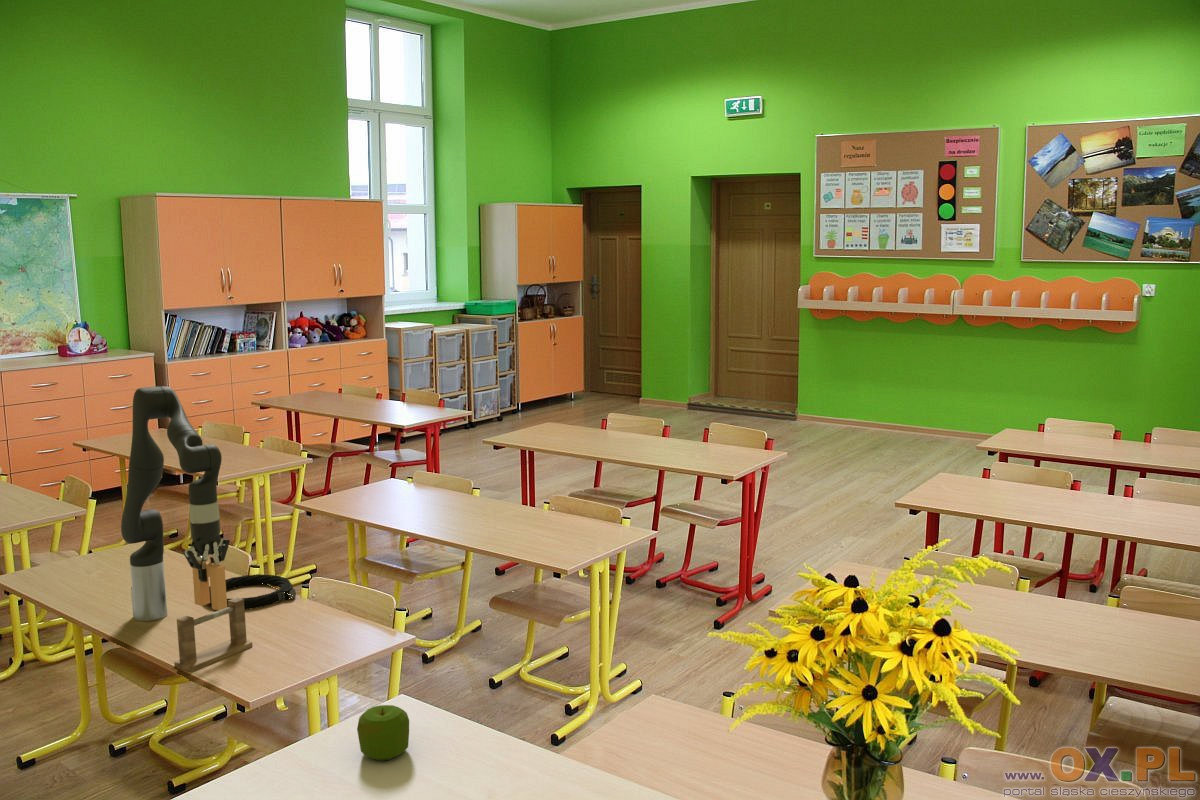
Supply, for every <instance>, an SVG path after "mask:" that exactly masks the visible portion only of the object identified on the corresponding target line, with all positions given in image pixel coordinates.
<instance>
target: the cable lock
mask: <svg viewBox="0 0 1200 800" xmlns="http://www.w3.org/2000/svg"><path fill="white" fill-rule="evenodd" d="M225 580H226V591H227V589H228V590H230V588H232V589H234V588H233V587H237V588H240V587H239V586H241V587H245V586H256V584H258V586H259V584H261V585H260V586H273V587H278V589H277V590H274V591H272V592H270V593H269V592H268V593H265V594H262V595H258V596H253V597H252V596H251V597H244V598H243V597H242V598H241V599H244V608H245V610H250V608H252V609H256V607H257V608H261V606H262V607H266V605H267V606H270V605H272V604H275V603H281V602H284V601H287V600H288V599H289V598H290V600H291V597H292V598H294V599H295V598H296V596H297V592H296V589H295V588H294V587H293V584H292V583H291V581H290V580H289V579H287V578H286V577H284V576H280V575H277V574H276V575H274V574H262V573H261V574H260V573H257V574H249V575H248V574H246V575H242V576H235V577H230V578H227V579H226V578H225ZM262 583H263V584H265V585H263V584H262ZM209 592H210V603H209V604H207V605H208V606H209V607H211V608H212V602H211V588H210V585H209ZM284 592H285V593H284ZM287 593H288V594H291V595H288V594H287ZM292 595H293V596H292ZM294 596H295V597H294ZM231 599H232V598H227V607H228V601H229V600H231ZM277 601H278V602H277ZM288 601H289V600H288ZM269 604H270V605H269Z"/></svg>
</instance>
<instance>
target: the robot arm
mask: <svg viewBox="0 0 1200 800" xmlns="http://www.w3.org/2000/svg"><path fill="white" fill-rule="evenodd" d="M166 418H169V419H170V421H169V422H168V426H167V428H166V429H167V430H166V434H167V435H166V436H167V439H168V441H169V442H170V444H171V445H172V447H173V448H174V449H175V450H176V452H177V455H178V461H179V466H180V469H181V470H182V471H183V472H184V473H187V474H197V473H203V472H204V473H203V475H202V476H201V477H200V478H198V479H196V480H193V481H191V482H190V483H189V484H188V498H189V513H188V515H189V525H190V526H189V527H190V528H189V530H190V537H191V539H192V541H191V546H189V548H187V549H183V551H182V554H183V556H184V557H185V560H186V561H187V563H188V565H189V566H190V567H191V568H196V569H198V576H199V580H200V581H201V582H207V570H206V569H205V568H206V562H208V560H209V562H210V563H215V564H219V565H220V563H221V562H224V561H225V560H226V559H225V558H226V556H227V552H228V549H229V546H230V542H231V541H230V539H226V538H222V537H221V536H220V534H221V521H220V520H221V517H220V507H219V504H218V503H219V502H218V493H217V491H218V490H217V485H218V484H217V483H218V478H219V475H220V470H221V465H222V452H221V450H220V449H219V447H218V446H217V445H215V444H203V443H204V442H203V439H202V437H201V435H200V434H199V433H198V432H197V431H196V429H195V428H194V427H193V425H192V424H191V422H190V420H189V419H188V416H187V414H186V412H185V410H184V407H183V405H182V403H181V401H180V399H179V397H178V395H177V393H176V392H175V390H173V388H171V386H163V385H162V386H148V387H147V386H146V387H139V388H137V389H136V390H135V391H134V393H133V398H132V436H131V437H132V438H131V444H130V445H131V447H130V455H129V462H128V464H129V465H128V473H127V474H128V476H127V486H126V487H127V490H126V494H125V495H126V497H125V501H124V502H125V503H124V506H123V511H122V517H121V523H120V531H121V537H122V538H123V541H125V543H127V544H138V543H143V542H144V544H143V545H142V546H141V547H140V548H138V549H137V550H135V551H133V552H132V553H131V554H130V556H129V562H130V564H129V566H130V576H131V587H130V591H131V592H130V594H131V605H132V606H131V607H132V616H133V617H134V620H136V621H137V622H153V621H157V620H161V619H162V618H164V617H166V616H167V615H168V606H167V605H168V603H167V590H166V577H165V566H164V565H165V563H164V552H165V549H164V548H165V547H164V521H163V518H162V515H161V513H160V511H159V510H157V509H155V508H151V509H144V510H142V509H143V507H144V505H145V502H146V501H147V500H148V498H149V497H150V496H151V494H152V493H153V492H154V490H156V487H158V485H159V484H160V482H161V480H162V478H163V473H164V464H165V456H164V453H163V452H162V450H161V448H160V447H159V445H158V443H156V441H155V440H154V438H153V436H152V435H151V434H150V431H149V425H148V424H149V420H154V419H157V420H158V419H166Z"/></svg>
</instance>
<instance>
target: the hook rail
mask: <svg viewBox="0 0 1200 800" xmlns="http://www.w3.org/2000/svg"><path fill="white" fill-rule="evenodd" d="M230 599H231V600H229V601H228V607H227V608H225V609H222V610H219V611H218V610H216V611H214V612H211V613H209V614H205V615H203V616H200V617H197V618H194V617H192V616H189V615H184V616H182V617H179V618H176V628H177V629H176V631H177V640H178V642H177V643H178V655H179V660H176V661H174V662H173V663H174V667H175V668H178V669H181V670H185V671H188V672H190V673H191V672H193V671H194V672H195V671H196V670H199V669H201V668H203V667H206V666H208V665H210V664H213V663H216V662H219V661H220V660H223V659H225V658H227V657H230V656H232V655H234V654H235V655H236V654H238V653H239V652H242V651H244V650H246V649H249V648H252V647H253V641H251V640H250V641H249V640H247V628H246V627H247V625H246V611H245V610H246V609H245V608H244V599H241V598H240V597H234V598H230ZM227 614H228V619H229V621H228V622H229V633H230V634H229V635H230V639H229V640H227V641H224V642H221V643H219V644H216V645H213V646H210V647H209V648H205V649H204V650H201V651H198V652H197V647H196V645H197V644H196V634H195V631H196V630H195V626H197V625H200V624H203V623H205V622H208V621H209V622H210V620H214V619H216V618H219V617H222V616H224V615H227Z"/></svg>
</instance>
